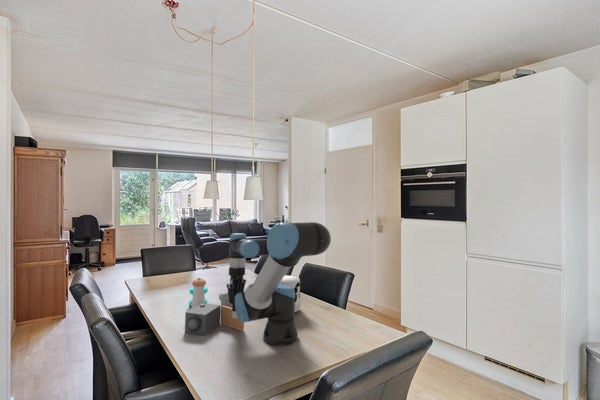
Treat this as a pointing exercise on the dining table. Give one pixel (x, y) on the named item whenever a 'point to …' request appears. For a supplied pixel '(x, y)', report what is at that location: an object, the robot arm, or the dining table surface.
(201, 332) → the camera housing
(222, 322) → the side door
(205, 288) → the donuts
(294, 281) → the milk container
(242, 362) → the dining table surface
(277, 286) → the robot arm
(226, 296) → the teacup
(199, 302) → the salt shaker
